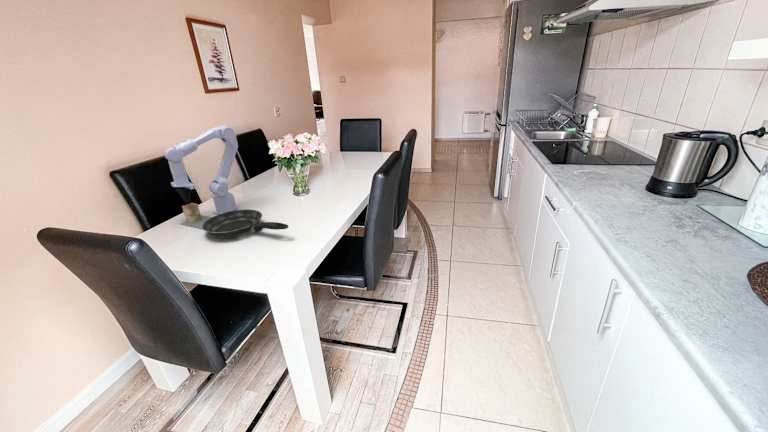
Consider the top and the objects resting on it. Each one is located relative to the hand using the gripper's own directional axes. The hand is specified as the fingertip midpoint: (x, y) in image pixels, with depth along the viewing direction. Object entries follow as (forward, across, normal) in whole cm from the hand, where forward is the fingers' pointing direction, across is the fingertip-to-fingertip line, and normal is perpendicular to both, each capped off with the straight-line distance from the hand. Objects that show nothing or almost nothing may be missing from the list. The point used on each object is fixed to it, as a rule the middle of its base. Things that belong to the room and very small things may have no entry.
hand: (187, 201), depth 151 cm
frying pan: (+10, +36, +1) cm, 37 cm away
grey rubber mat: (+10, +7, 0) cm, 12 cm away
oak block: (+10, +1, 0) cm, 10 cm away
